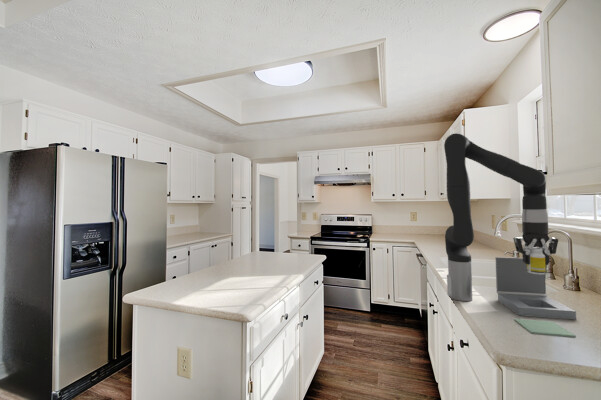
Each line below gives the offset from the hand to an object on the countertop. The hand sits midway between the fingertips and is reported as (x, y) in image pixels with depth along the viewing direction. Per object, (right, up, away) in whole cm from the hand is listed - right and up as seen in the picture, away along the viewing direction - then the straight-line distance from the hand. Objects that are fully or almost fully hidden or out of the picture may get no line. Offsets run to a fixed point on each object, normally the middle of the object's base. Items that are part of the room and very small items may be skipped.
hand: (536, 264), depth 100 cm
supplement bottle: (0, -4, 0) cm, 4 cm away
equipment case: (+3, -19, +5) cm, 20 cm away
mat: (-8, -19, -11) cm, 24 cm away
